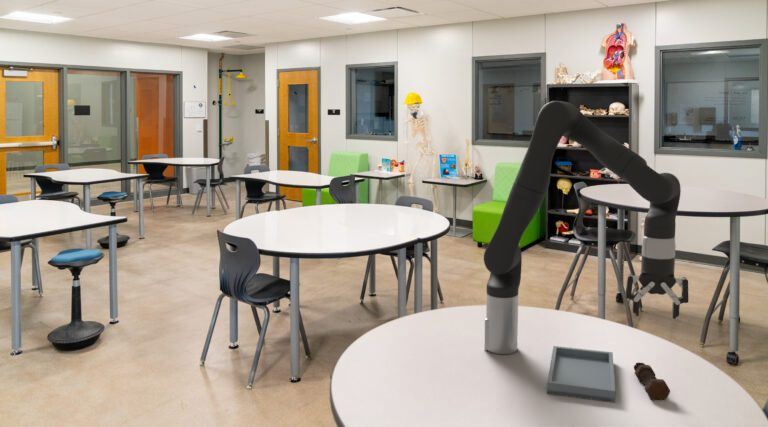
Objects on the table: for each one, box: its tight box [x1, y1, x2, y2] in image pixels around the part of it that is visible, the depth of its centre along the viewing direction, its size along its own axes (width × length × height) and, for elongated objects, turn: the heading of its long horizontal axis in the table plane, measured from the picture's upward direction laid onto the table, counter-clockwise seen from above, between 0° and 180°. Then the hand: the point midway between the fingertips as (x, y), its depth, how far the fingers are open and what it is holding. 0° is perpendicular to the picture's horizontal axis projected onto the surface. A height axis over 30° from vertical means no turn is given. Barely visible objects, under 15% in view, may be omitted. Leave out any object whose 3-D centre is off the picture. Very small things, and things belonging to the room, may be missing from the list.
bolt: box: [633, 362, 671, 402], centre depth 153 cm, size 6×5×15 cm
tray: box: [546, 345, 616, 403], centre depth 159 cm, size 16×24×3 cm, turn 161°
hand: (655, 316), depth 151 cm, fingers open, 8 cm apart
